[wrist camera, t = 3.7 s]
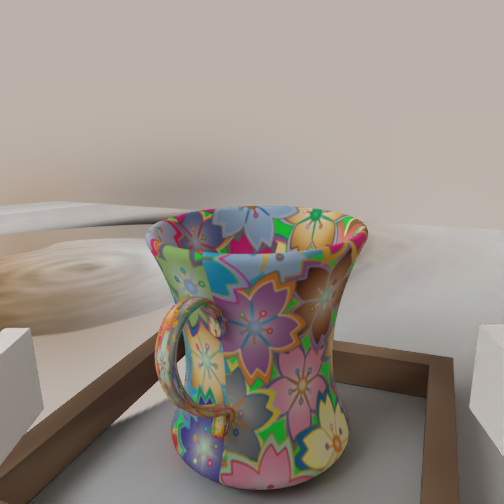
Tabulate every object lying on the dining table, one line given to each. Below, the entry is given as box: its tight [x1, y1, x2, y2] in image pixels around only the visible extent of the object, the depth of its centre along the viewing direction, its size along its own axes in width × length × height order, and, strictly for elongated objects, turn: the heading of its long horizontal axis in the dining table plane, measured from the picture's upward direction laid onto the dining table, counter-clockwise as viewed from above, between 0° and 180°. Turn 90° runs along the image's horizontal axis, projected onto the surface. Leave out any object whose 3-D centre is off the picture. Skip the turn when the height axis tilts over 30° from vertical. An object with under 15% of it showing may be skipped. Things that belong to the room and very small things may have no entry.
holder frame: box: [0, 330, 459, 504], centre depth 22 cm, size 17×17×2 cm
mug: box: [146, 206, 368, 490], centre depth 20 cm, size 12×9×11 cm
